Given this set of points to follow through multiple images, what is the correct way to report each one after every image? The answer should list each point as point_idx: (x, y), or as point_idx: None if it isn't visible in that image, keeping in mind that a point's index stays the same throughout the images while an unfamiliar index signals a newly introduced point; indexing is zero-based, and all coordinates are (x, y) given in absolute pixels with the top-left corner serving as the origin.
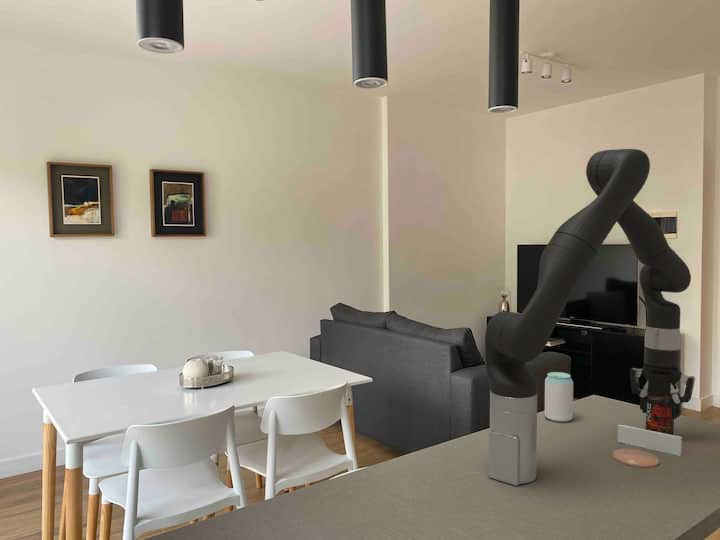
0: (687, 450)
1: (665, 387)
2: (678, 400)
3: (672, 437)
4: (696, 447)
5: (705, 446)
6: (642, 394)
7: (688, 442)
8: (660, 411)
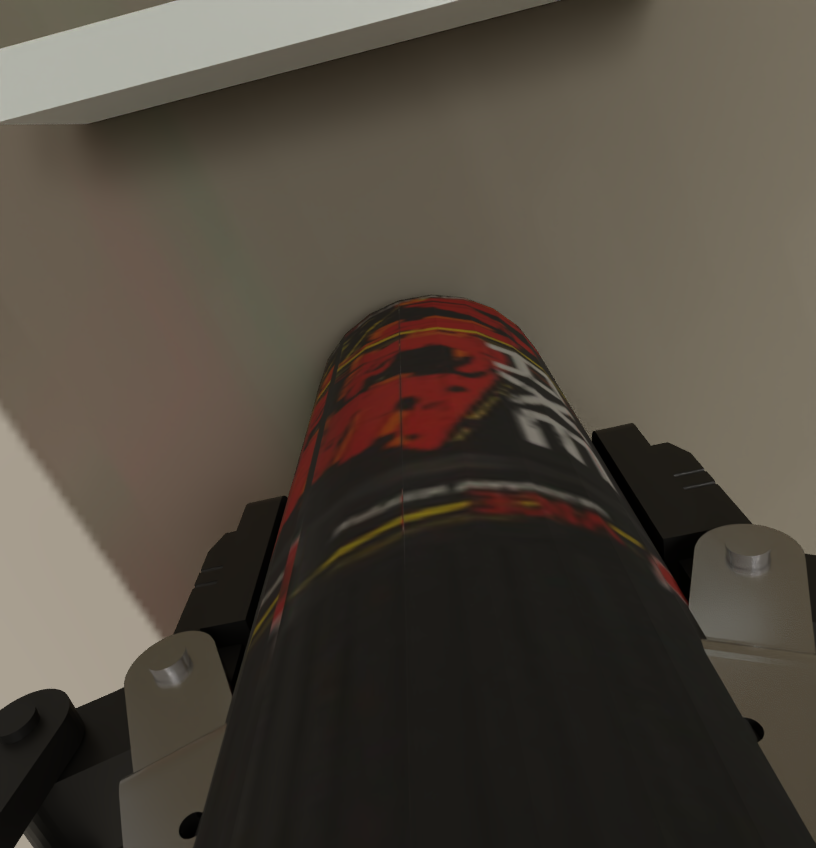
0: (129, 287)
1: (261, 789)
2: (147, 681)
3: (58, 38)
4: (135, 416)
5: (114, 489)
6: (752, 556)
7: (234, 474)
8: (373, 418)
